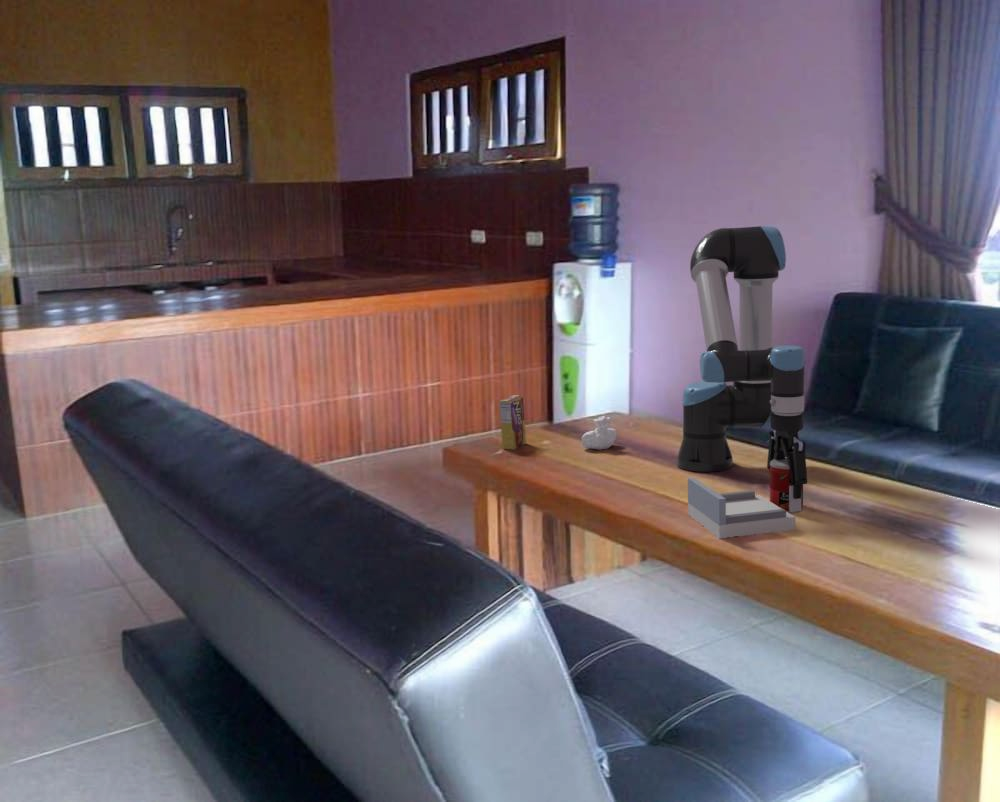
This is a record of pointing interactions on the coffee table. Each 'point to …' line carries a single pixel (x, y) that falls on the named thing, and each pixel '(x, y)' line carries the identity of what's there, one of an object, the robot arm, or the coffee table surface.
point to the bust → (600, 435)
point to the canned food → (781, 484)
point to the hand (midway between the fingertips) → (786, 505)
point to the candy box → (512, 422)
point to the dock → (735, 512)
